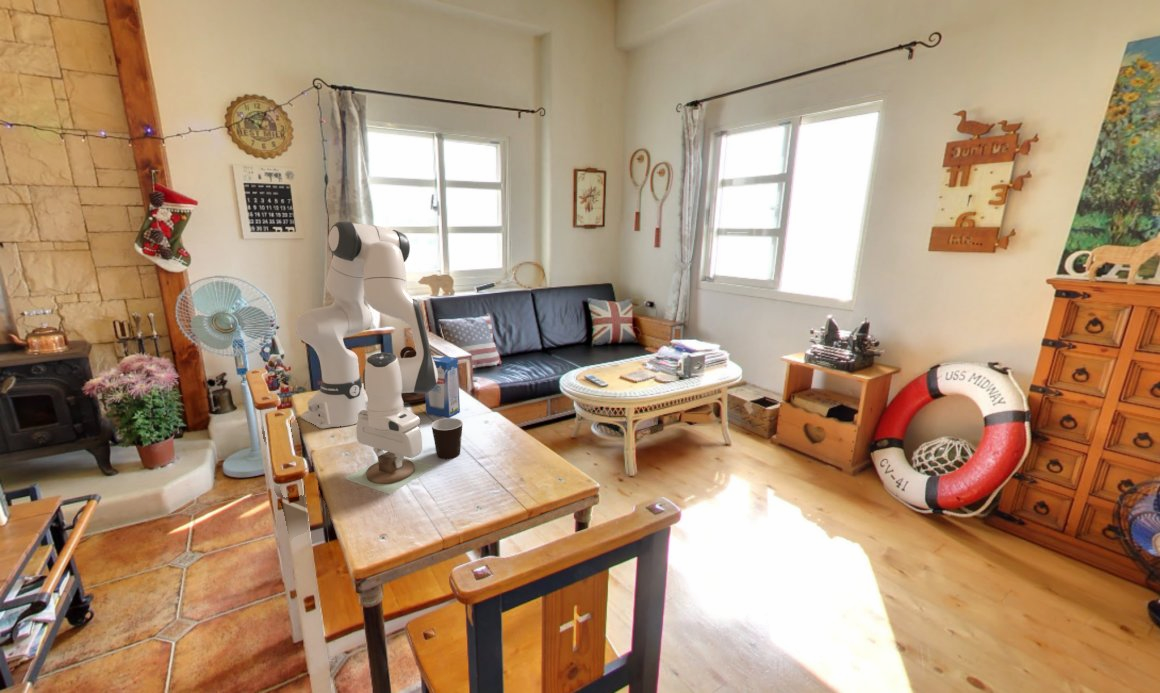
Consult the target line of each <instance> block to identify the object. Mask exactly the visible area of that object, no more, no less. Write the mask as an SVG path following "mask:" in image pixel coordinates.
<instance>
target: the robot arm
mask: <svg viewBox="0 0 1160 693" xmlns="http://www.w3.org/2000/svg"><path fill="white" fill-rule="evenodd" d="M328 248H329V250H330V252H331V253H332V255H333V256H332V259H331V262H330V265H329V269H328V273H327V277H326V281H325V288H326V290H327V292H328V293H329V295H330V296H332V297H333V302H332V304H330V305H327V306H321V307H316V308H312V309H309V310H307V311H304V312H303V313H300V314H299V315H298V316H297V317H296V319H295V322H294V329H295V332H296V334H297V336H298V338H299V339H300V340H301V341H302V342H303V343H305V344H308V345H309V346H310V347H311V348H313V350H314V351H315V352H316V354H317V355H316V356H317V357H318V361H319V363H320V369H321V377H322V378H321V379H322V380H317V385H320V388H319V391H318V392H316V394H314V395H313V396H312V397H311V398H309V400H308V402H307V410H306V411H305V412H302V413H301V414H300V418H301V419H302V420H304V421H306V422H308V423H309V422H310V423H309V424H311V423H312V424H311V425H313V424H314V425H313V426H315V425H316V426H315V427H316V428H319V429H328V428H329V429H330V428H336V427H340V426H341V427H347V426H352V425H356V431H355V432H356V433H355V434H356V440H357V441H358V444H361V445H364V446H368V447H371V448H373V451H374V453H375V456H377V458H378V456H380V455H382V454H384V453H385V452H391V453H394V454H395V457H397V458H396V460H395V461H393V467H396V468H400V467H401V466H402V460H403V458H404V457H405V458H409V459H413V458H415V457H418V456H419V455H420V454H421V453H422V451H423V438H422V431H421V429H420V427H419V426H418V425H420V424H421V419H420V417H419V416H418V415H416V414H415V413H414V412H412V411H410V409H408V408H407V407H405V404H404V402H403V399H402V396H401V393H412V392H414V393H428V392H429V391H430V390H432V389H433V388H434V387H435V386H436V385H437V380H438V372H437V368H436V365H435V362H434V360H433V358H432V356H433V355H432V351H431V350H432V349H431V345H430V341H429V336H428V332H427V328H426V323H425V320H424V315H423V311H422V308H421V306H420V303H419V302H418V300H417V299H415V298H413V297H412V296H411V294H410V293H409V290H408V287H407V286H408V285H407V274H406V273H407V272H406V264H405V262H406V261H407V259H408V258H409V256H410V252H411V251H410V250H411V249H410V248H411V245H410V241H409V238H408V237H407V235H405V233H403V232H401V231H398V230H395V229H393V230H392V229H389V228H386V227H383V226H378V225H375V224H372V225H371V224H366V223H365V224H364V223H356V222H355V223H354V222H351V221H337V222H335V223H334V224H333V225H332V226H331V228H330V230H329V233H328ZM365 301H366V303H367V304H368V305H369V307H371V309H373V310H375V311H376V312H379V313H380V314H382V315H385V316H388V317H392V318H394V319H398V320H399V321H402V322H404V323H405V324H406V325H407V326H408V327H409V328H410V330H411V335H412V339H413V344H414V348H415V349H414V350H415V351H416V356H415V357H412V358H401V357H399V358H398V356H397V355H396V354H394V353H392V352H378V353H374V354H372V355H370V356H368V357H367V358H366V359H365V360H366V361H365V366H364V369H363V372H362V377H361V376H360V368H359V366H360V365H359V357H358V355H357V354H356V352H354V351H353V350H351V349H348V348H347V346H346V345H345V343H344V338H347V337H352V336H355V335H359V334H360V333H363V331H366V330H368V329H369V328H370V326H371V325H372V322H373V317H372V316H373V315H372V312H371V310H370V309H369V307H368V306H367V305H366V304H365ZM362 383H363V384H362ZM362 388H363V389H362ZM364 391H365V393H364ZM365 394H366V396H367V401H366V396H365ZM384 451H385V452H384Z"/></svg>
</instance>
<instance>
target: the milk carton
mask: <svg viewBox="0 0 1160 693" xmlns="http://www.w3.org/2000/svg"><path fill="white" fill-rule="evenodd" d="M432 358H433V360H434V362H435V365H436V368H437V372H438V380H437V385H436V386H435V387H434V388H433V389H432V390H430V391H429V392H428V393H425V400H424V401H425V413H426V414H428V415H431V416H436V417H441V418H453V417H454V416H456V415H457V413H458V414H459V413H461V408H460V407H461V405H460V386H459V384H460V382H459V380H460V379H459V358H458V357H452V356H444V355H440V354H439V355H438V354H433V355H432Z"/></svg>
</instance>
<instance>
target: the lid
mask: <svg viewBox="0 0 1160 693" xmlns="http://www.w3.org/2000/svg"><path fill="white" fill-rule="evenodd" d="M396 458H397V457H395V454H394V453H391V452H388V451H385V452H384V454H382V455H380V456H378V457H377V461H378V462H377V461H376V462H377V463H375V462H374V463H375V464H373V463H372V464H373V465H371V464H370V465H371V466H370V467H369V468H368V469H367V471H366V477H367V479H368V480H369V481H370V482H373V483H377V484H390V483H395V482H399V481H402V480H404V479H406V478H408V477H409V476H411V475H412V474H413V472H414V463H413V462H412V461H410V460H407V459H403V460H402V466H401V467H400V468H396V467H393V461H395V460H396Z"/></svg>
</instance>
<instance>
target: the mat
mask: <svg viewBox="0 0 1160 693" xmlns="http://www.w3.org/2000/svg"><path fill="white" fill-rule="evenodd" d="M403 459H407V460H410V461H412V462H413V463H414V472H413V474H412V475H411V476H409V477H408V478H406V479H404V480H402V481H399V482H395V483H390V484H377V483H373V482H370V481H369V480H368V479H367V477H366V471H367V469H368V468H369V467H370V466H371V465H373V464H375V463H377V462H378V460H377V461H375V462H373V463H371V464H370V465H368V466H365V467H363V468H362V469H359V470H358V471H356V472H354V473H352V474H351V475H348V476H346V477H345V478H344V480H346V481H350V482H352V483H355V484H358V485H361V486H364V487H366V488H370V489H373V490H375V491H378V492H381V493H384V494H387V495H392V494H393V493H394V492H396V491H397V490H399V489H401V488H403V487H404V486H406V485H407V484H409V483H410V482H412V481H414V480H416V479H418V478H419V477H420V476H422V475H423V474H425V473H427V472H428V471H430V470H431V469H433V468H434V467H435V465H432V464H428V463H425V462H421V461H418V460H415V459H413V458H408V457H404V458H403Z"/></svg>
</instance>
